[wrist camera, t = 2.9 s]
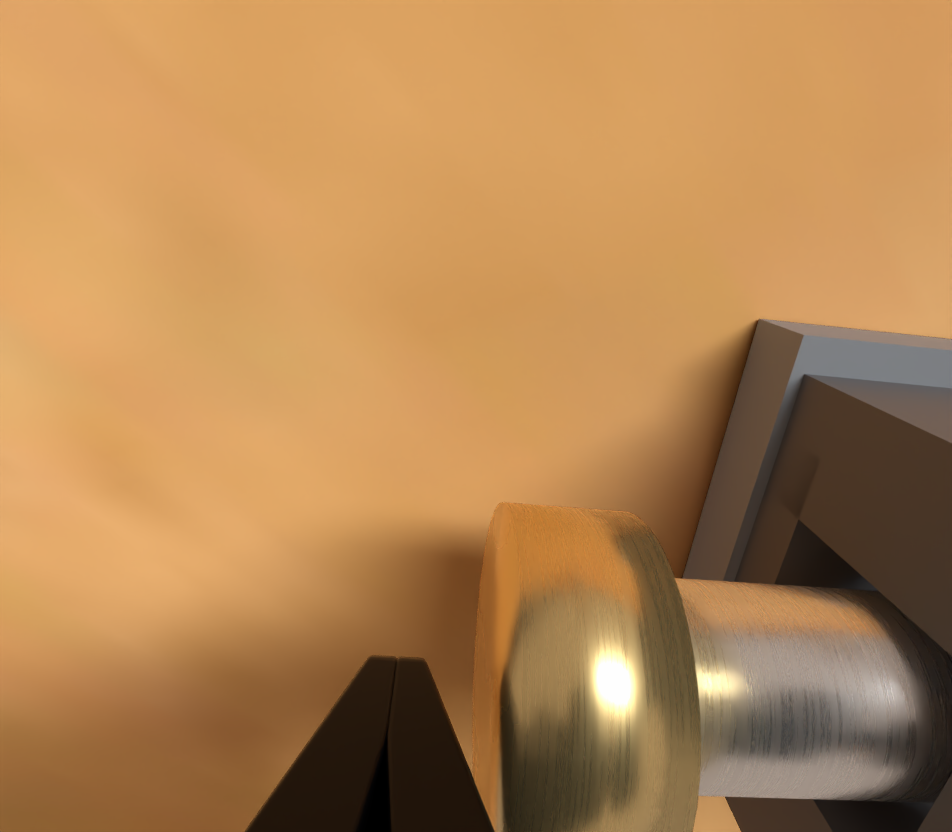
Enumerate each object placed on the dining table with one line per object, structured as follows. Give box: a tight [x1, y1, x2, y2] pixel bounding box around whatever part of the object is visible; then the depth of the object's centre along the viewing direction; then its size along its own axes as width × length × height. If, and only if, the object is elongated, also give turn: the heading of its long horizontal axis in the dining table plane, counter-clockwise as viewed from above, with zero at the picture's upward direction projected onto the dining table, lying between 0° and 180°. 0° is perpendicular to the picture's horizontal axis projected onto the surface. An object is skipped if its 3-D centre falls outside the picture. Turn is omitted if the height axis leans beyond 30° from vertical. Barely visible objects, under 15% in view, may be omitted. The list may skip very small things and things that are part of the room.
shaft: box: [473, 502, 952, 832], centre depth 9 cm, size 15×5×5 cm, turn 84°
